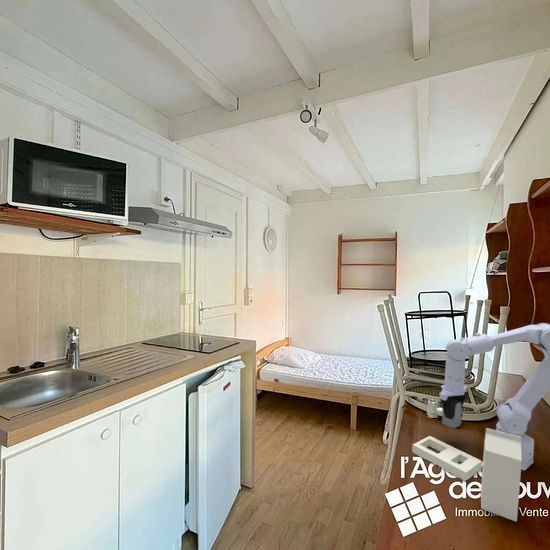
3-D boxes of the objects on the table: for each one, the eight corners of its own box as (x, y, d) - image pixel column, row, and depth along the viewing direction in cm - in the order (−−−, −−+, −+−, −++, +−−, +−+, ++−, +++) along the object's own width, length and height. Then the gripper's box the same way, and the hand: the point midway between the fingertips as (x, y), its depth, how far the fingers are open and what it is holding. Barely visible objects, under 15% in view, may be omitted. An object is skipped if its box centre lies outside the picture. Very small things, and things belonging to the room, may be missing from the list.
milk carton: (516, 522, 76) (523, 443, 75) (481, 509, 80) (486, 434, 79) (513, 504, 82) (519, 430, 81) (480, 492, 86) (485, 422, 85)
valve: (423, 417, 127) (457, 429, 119) (424, 401, 127) (458, 412, 118) (429, 412, 132) (462, 423, 123) (430, 396, 131) (463, 406, 123)
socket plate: (481, 469, 96) (481, 460, 96) (465, 481, 90) (465, 472, 90) (429, 443, 109) (429, 435, 109) (412, 452, 103) (412, 444, 103)
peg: (460, 425, 108) (461, 401, 108) (454, 428, 106) (455, 404, 106) (447, 420, 112) (449, 397, 111) (441, 423, 109) (443, 399, 109)
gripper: (453, 369, 115) (450, 406, 116) (431, 376, 107) (428, 416, 108) (474, 375, 110) (471, 414, 110) (453, 383, 101) (450, 425, 102)
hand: (452, 416), depth 108 cm, fingers closed on peg, 4 cm apart
